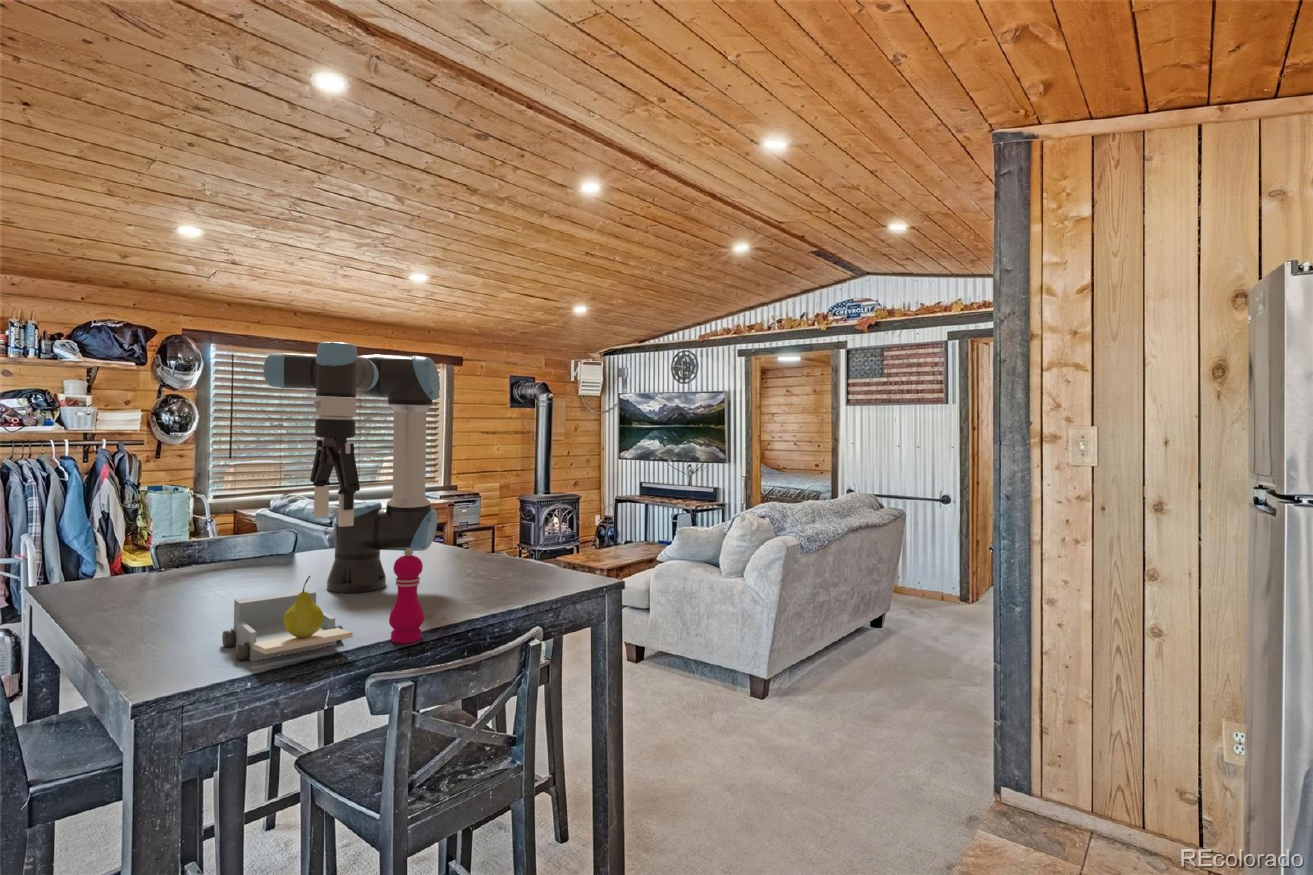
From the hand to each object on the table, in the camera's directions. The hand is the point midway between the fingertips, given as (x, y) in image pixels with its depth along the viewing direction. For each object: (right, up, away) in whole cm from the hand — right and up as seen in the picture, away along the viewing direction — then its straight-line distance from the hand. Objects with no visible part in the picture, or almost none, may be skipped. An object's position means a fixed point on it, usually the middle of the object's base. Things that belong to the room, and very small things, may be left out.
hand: (333, 521), depth 144 cm
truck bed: (-12, -26, +3) cm, 29 cm away
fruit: (-3, -23, -5) cm, 24 cm away
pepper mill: (+12, -27, +9) cm, 31 cm away
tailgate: (-6, -23, -2) cm, 24 cm away
